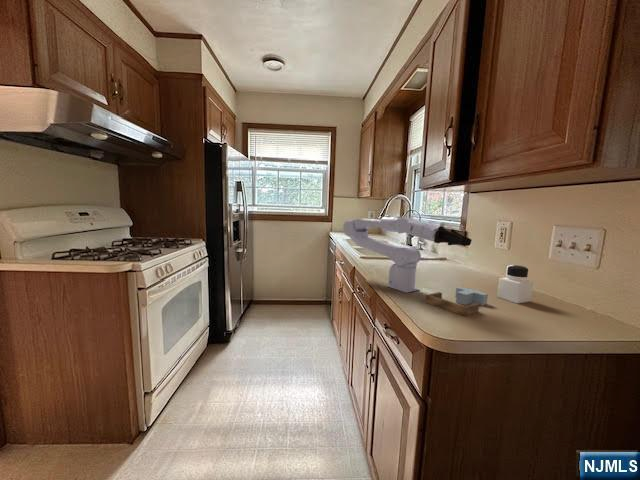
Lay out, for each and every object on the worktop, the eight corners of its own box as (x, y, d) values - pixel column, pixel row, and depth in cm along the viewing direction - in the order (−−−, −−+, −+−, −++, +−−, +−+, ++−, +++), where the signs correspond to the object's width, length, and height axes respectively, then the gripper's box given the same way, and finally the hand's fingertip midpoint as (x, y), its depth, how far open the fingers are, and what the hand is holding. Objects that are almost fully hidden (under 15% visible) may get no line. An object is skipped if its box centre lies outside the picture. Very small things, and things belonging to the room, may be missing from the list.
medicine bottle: (530, 301, 94) (535, 267, 92) (517, 303, 91) (521, 268, 90) (510, 295, 100) (513, 263, 99) (496, 297, 98) (500, 264, 96)
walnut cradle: (425, 302, 89) (426, 295, 89) (438, 298, 93) (438, 292, 93) (465, 316, 78) (466, 308, 78) (478, 311, 82) (479, 304, 82)
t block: (447, 299, 93) (448, 289, 92) (459, 296, 97) (460, 286, 97) (474, 308, 85) (475, 297, 85) (486, 304, 90) (487, 293, 89)
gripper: (419, 217, 90) (460, 226, 80) (439, 222, 100) (478, 231, 90) (413, 237, 91) (453, 249, 81) (433, 241, 101) (471, 252, 91)
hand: (466, 241), depth 86 cm, fingers open, 7 cm apart
